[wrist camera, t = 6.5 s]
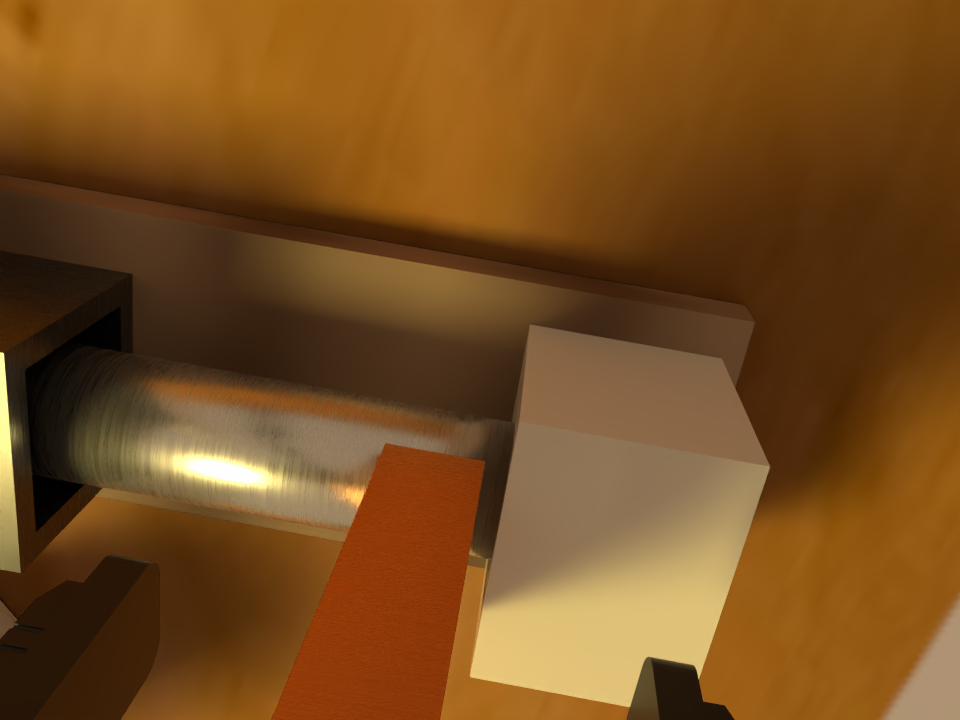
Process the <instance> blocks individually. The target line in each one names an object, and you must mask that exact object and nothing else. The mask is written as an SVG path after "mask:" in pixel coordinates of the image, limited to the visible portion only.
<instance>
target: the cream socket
mask: <svg viewBox="0 0 960 720" xmlns="http://www.w3.org/2000/svg"><path fill="white" fill-rule="evenodd" d="M511 422H513V423H515V431H514V439H513V448H512V456H511V461H510V466H509V472H508V477H507V482H506V487H505V492H504V497H503V503H502V508H501V513H500V518H499V523H498V528H497V534H496V539H495V544H494V549H493V554H492V559H486V565H485V572H484V579H483V587H482V594H481V601H480V608H479V615H478V622H477V629H476V636H475V643H474V650H473V657H472V664H471V671H470V677H473V678H478V679H483V680H489V681H494V682H499V683H505V684H510V685H515V686H520V687H526V688H531V689H536V690H542V691H547V692H552V693H558V694H563V695H568V696H574V697H579V698H584V699H589V700H595V701H600V702H605V703H611V704H616V705H621V706H627V707H630V706H631V702H632V699H633V696H634V692H635V689H636V686H637V682H638V679H639V675H640V672H641V669H642V666H643V663H644V661H645V659H646V658H647V657H653V658H659V659H664V660H669V661H675V662H680V663H685V664H691V665H694V666H695V668H696V670H697V674H698V679H699V677H700V674H701V671H702V668H703V665H704V662H705V659H706V656H707V653H708V650H709V647H710V644H711V641H712V638H713V635H714V633H715V630H716V627H717V624H718V621H719V618H720V615H721V612H722V609H723V606H724V603H725V600H726V597H727V594H728V591H729V588H730V585H731V582H732V579H733V576H734V573H735V570H736V567H737V564H738V561H739V558H740V555H741V552H742V549H743V546H744V543H745V540H746V537H747V534H748V531H749V528H750V525H751V522H752V519H753V516H754V513H755V510H756V507H757V504H758V502H759V499H760V496H761V493H762V490H763V487H764V484H765V481H766V478H767V475H768V472H769V469H770V465H769V463H768V461H767V458H766V456H765V454H764V452H763V449H762V447H761V445H760V443H759V441H758V438H757V436H756V434H755V432H754V429H753V427H752V425H751V423H750V420H749V418H748V416H747V414H746V412H745V409H744V407H743V405H742V403H741V400H740V398H739V396H738V394H737V391H736V389H735V387H734V385H733V382H732V380H731V378H730V376H729V374H728V371H727V369H726V367H725V365H724V362H723V360H722V358H716V357H711V356H705V355H699V354H694V353H688V352H682V351H677V350H671V349H666V348H660V347H654V346H649V345H643V344H637V343H632V342H626V341H621V340H615V339H609V338H604V337H598V336H592V335H587V334H581V333H575V332H570V331H564V330H559V329H553V328H547V327H542V326H536V325H530V327H529V332H528V337H527V342H526V348H525V353H524V358H523V363H522V369H521V374H520V379H519V384H518V390H517V395H516V400H515V406H514V411H513V416H512V421H511Z"/></svg>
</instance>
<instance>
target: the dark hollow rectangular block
mask: <svg viewBox="0 0 960 720" xmlns="http://www.w3.org/2000/svg"><path fill="white" fill-rule="evenodd" d="M66 342H70V343H75V344H81V345H86V346H92V347H98V348H103V349H109V350H114V351H120V352H125V353H131V354H133V286H132V274H130V273H124V272H119V271H113V270H108V269H102V268H96V267H91V266H85V265H80V264H74V263H68V262H63V261H57V260H52V259H46V258H40V257H35V256H29V255H23V254H18V253H12V252H7V251H1V250H0V569H1V570H6V571H12V572H17V573H22V572H23V571H24V569H25V568H26V567H27V566H28V565H29V564H30V563H31V562H32V561H33V560H34V559H35V558H36V557H37V556H38V555H39V554H40V553H41V552H42V551H43V550H44V549H45V548H46V547H47V546H48V545H49V543H50V542H51V541H52V540H53V539H54V538H55V537H56V536H57V535H58V534H59V533H60V532H61V531H62V530H63V529H64V528H65V527H66V526H67V525H68V524H69V523H70V522H71V521H72V520H73V519H74V517H75V516H76V515H77V514H78V513H79V512H80V511H81V510H82V509H83V508H84V507H85V506H86V505H87V504H88V503H89V502H90V501H91V500H92V499H93V498H94V497H95V496H96V495H97V494H98V493H99V491H100V490H101V489H102V487H97V486H91V485H86V484H80V483H75V482H70V481H64V480H59V479H53V478H48V477H42V476H37V475H32V466H31V451H30V436H29V421H28V407H27V392H26V377H25V369H27V368H28V367H30V366H31V365H33V364H34V363H36V362H37V361H39V360H40V359H42V358H43V357H45V356H46V355H48V354H49V353H51V352H52V351H54V350H55V349H57V348H58V347H60V346H61V345H63V344H64V343H66Z"/></svg>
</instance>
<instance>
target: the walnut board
mask: <svg viewBox="0 0 960 720" xmlns="http://www.w3.org/2000/svg"><path fill="white" fill-rule="evenodd" d="M0 250H1V251H7V252H12V253H18V254H23V255H29V256H35V257H40V258H46V259H52V260H57V261H63V262H68V263H74V264H80V265H85V266H91V267H96V268H102V269H108V270H113V271H119V272H124V273H130V274H132V286H133V354H136V355H142V356H147V357H153V358H158V359H164V360H170V361H175V362H181V363H186V364H192V365H197V366H203V367H208V368H214V369H219V370H225V371H230V372H236V373H241V374H247V375H253V376H258V377H264V378H269V379H275V380H280V381H286V382H291V383H297V384H302V385H308V386H313V387H319V388H325V389H330V390H336V391H341V392H347V393H352V394H358V395H363V396H369V397H374V398H380V399H385V400H391V401H397V402H402V403H408V404H413V405H419V406H424V407H430V408H435V409H441V410H446V411H452V412H457V413H463V414H468V415H474V416H480V417H485V418H491V419H496V420H502V421H507V422H511V421H512V416H513V411H514V406H515V400H516V395H517V390H518V384H519V379H520V374H521V369H522V363H523V358H524V353H525V348H526V342H527V337H528V332H529V327H530V325H536V326H542V327H547V328H553V329H559V330H564V331H570V332H575V333H581V334H587V335H592V336H598V337H604V338H609V339H615V340H621V341H626V342H632V343H637V344H643V345H649V346H654V347H660V348H666V349H671V350H677V351H682V352H688V353H694V354H699V355H705V356H711V357H716V358H722V360H723V362H724V365H725V367H726V369H727V371H728V374H729V376H730V378H731V380H732V382H733V385H734V387H735V388H736V384H737V381H738V378H739V375H740V371H741V368H742V365H743V361H744V358H745V355H746V351H747V348H748V345H749V342H750V338H751V335H752V332H753V328H754V325H755V321H754V319H753V318H752V316H751V314H750V313H749V311H748V309H747V308H746V306H745V305H742V304H736V303H730V302H724V301H719V300H713V299H707V298H702V297H696V296H690V295H685V294H679V293H673V292H668V291H662V290H656V289H651V288H645V287H639V286H633V285H628V284H622V283H616V282H611V281H605V280H599V279H594V278H588V277H582V276H577V275H571V274H565V273H560V272H554V271H548V270H542V269H537V268H531V267H525V266H520V265H514V264H508V263H503V262H497V261H491V260H486V259H480V258H474V257H469V256H463V255H457V254H451V253H446V252H440V251H434V250H429V249H423V248H417V247H412V246H406V245H400V244H395V243H389V242H383V241H377V240H372V239H366V238H360V237H355V236H349V235H343V234H338V233H332V232H326V231H321V230H315V229H309V228H304V227H298V226H292V225H286V224H281V223H275V222H269V221H264V220H258V219H252V218H247V217H241V216H235V215H230V214H224V213H218V212H213V211H207V210H201V209H195V208H190V207H184V206H178V205H173V204H167V203H161V202H156V201H150V200H144V199H139V198H133V197H127V196H122V195H116V194H110V193H104V192H99V191H93V190H87V189H82V188H76V187H70V186H65V185H59V184H53V183H48V182H42V181H36V180H30V179H25V178H19V177H13V176H8V175H2V174H0ZM96 496H98V497H103V498H108V499H114V500H119V501H125V502H130V503H135V504H141V505H146V506H152V507H157V508H162V509H168V510H173V511H179V512H184V513H189V514H195V515H200V516H206V517H211V518H216V519H222V520H227V521H233V522H238V523H243V524H249V525H254V526H260V527H265V528H270V529H276V530H281V531H287V532H292V533H297V534H303V535H308V536H314V537H319V538H324V539H330V540H335V541H341V542H345V539H346V537H347V535H348V533H345V532H340V531H334V530H329V529H324V528H318V527H313V526H307V525H302V524H297V523H291V522H286V521H280V520H275V519H270V518H264V517H259V516H253V515H248V514H243V513H237V512H232V511H226V510H221V509H216V508H210V507H205V506H199V505H194V504H188V503H183V502H178V501H172V500H167V499H161V498H156V497H151V496H145V495H140V494H134V493H129V492H124V491H118V490H113V489H107V488H102V489H101V490H100V491H99V493H98V494H97V495H96ZM467 565H470V566H476V567H481V568H485V565H486V558H481V557H475V556H470V555H469V557H468V563H467Z"/></svg>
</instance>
